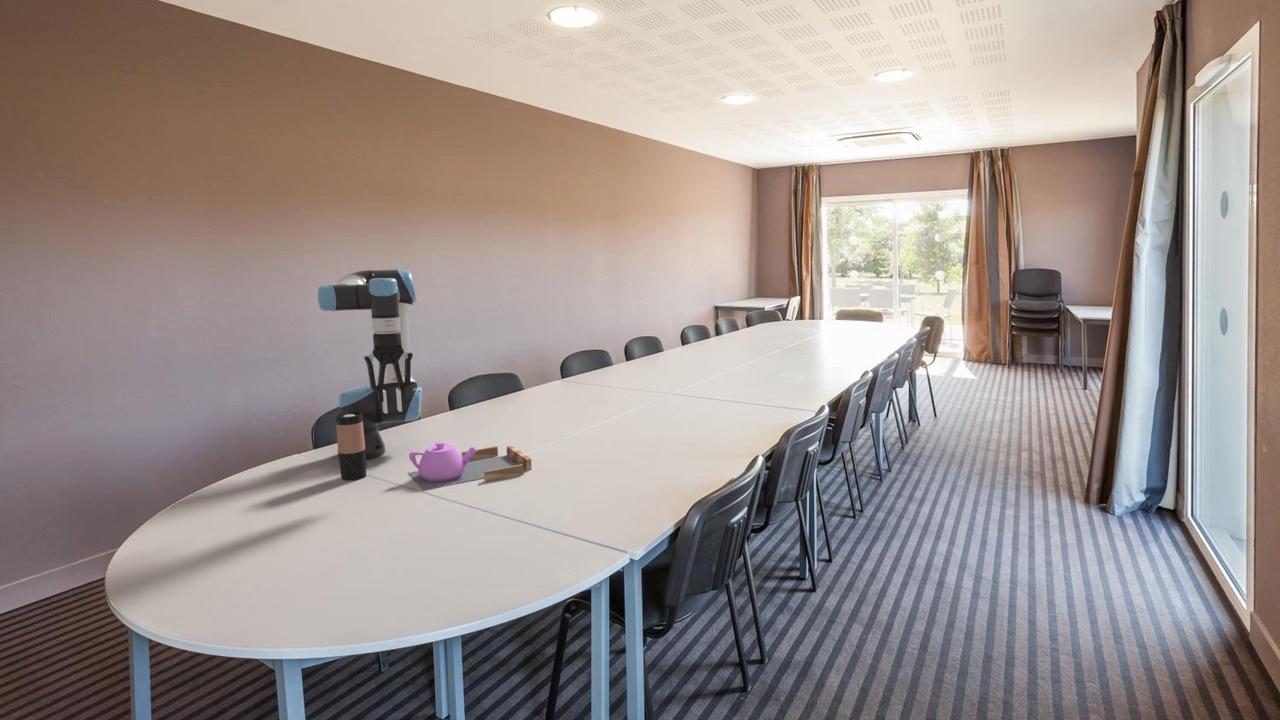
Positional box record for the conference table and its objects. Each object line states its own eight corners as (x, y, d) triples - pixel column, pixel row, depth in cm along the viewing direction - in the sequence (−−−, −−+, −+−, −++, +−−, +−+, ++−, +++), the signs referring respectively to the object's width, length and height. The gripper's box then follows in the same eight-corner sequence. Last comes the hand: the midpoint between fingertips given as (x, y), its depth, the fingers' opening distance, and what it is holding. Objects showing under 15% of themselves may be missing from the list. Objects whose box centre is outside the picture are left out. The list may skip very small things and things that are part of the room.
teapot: (480, 478, 197) (478, 444, 195) (411, 486, 190) (408, 452, 188) (475, 464, 210) (473, 433, 208) (410, 472, 203) (408, 439, 201)
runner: (408, 473, 203) (408, 472, 203) (511, 454, 221) (511, 454, 220) (422, 490, 188) (422, 489, 188) (531, 469, 205) (531, 468, 205)
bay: (462, 460, 215) (461, 450, 214) (507, 452, 223) (507, 442, 223) (486, 481, 194) (485, 470, 194) (535, 472, 203) (535, 461, 202)
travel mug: (357, 481, 196) (352, 417, 192) (335, 480, 197) (329, 416, 194) (372, 473, 203) (367, 411, 200) (350, 472, 204) (345, 410, 201)
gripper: (358, 335, 178) (364, 418, 182) (419, 331, 186) (424, 410, 190) (353, 332, 184) (360, 412, 188) (413, 329, 193) (418, 405, 196)
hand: (392, 411), depth 189 cm, fingers open, 3 cm apart
